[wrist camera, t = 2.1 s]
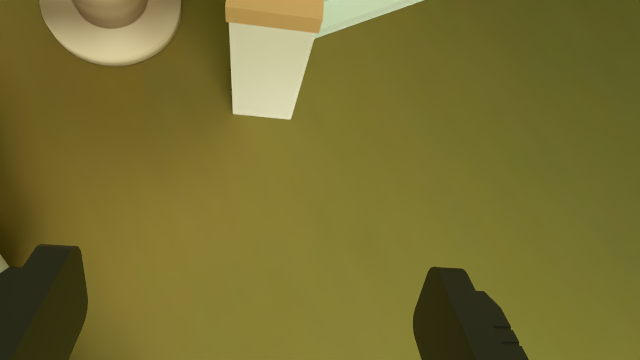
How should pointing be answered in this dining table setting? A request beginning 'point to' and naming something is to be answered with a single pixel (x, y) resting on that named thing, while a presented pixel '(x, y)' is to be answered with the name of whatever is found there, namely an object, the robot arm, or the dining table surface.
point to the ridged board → (355, 12)
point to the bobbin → (113, 28)
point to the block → (270, 53)
